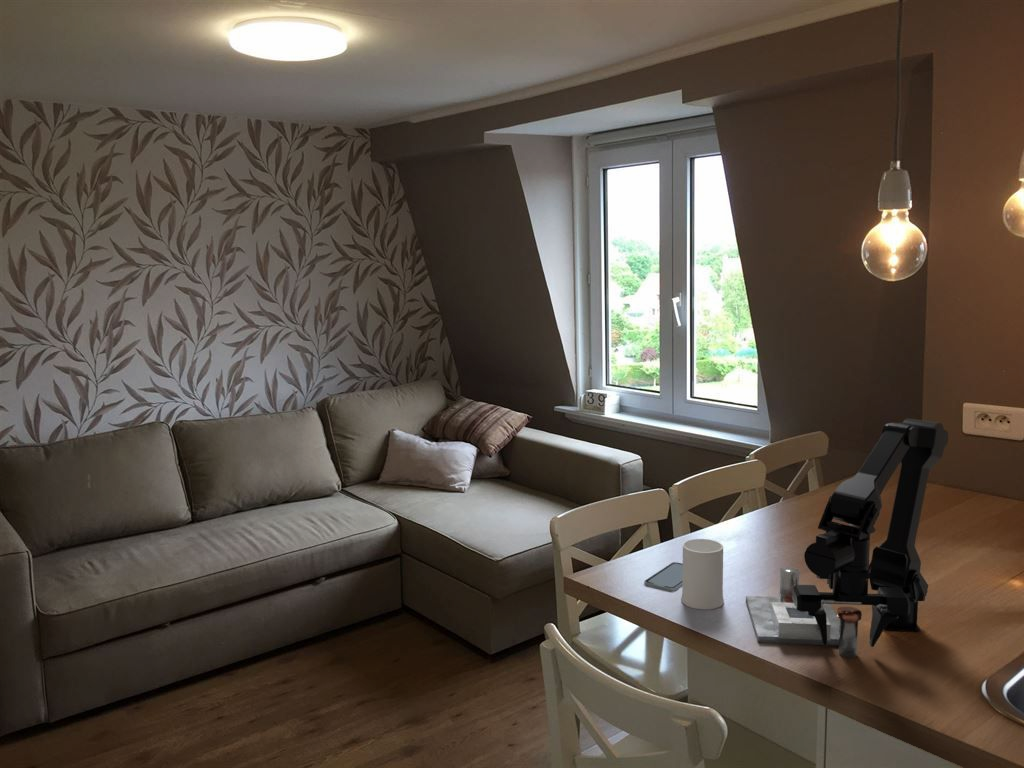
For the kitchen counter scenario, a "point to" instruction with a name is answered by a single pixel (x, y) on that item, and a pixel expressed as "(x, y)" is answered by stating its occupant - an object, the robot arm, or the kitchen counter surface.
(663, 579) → the smartphone
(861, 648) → the kitchen counter surface
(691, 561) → the mug
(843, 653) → the copper-capped peg
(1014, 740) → the kitchen counter surface
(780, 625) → the socket base
